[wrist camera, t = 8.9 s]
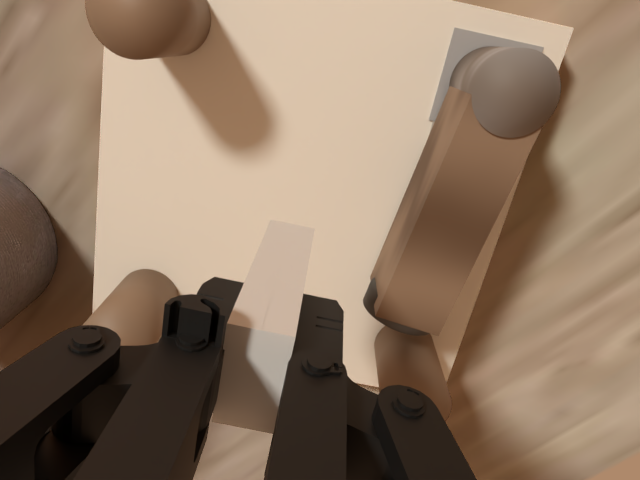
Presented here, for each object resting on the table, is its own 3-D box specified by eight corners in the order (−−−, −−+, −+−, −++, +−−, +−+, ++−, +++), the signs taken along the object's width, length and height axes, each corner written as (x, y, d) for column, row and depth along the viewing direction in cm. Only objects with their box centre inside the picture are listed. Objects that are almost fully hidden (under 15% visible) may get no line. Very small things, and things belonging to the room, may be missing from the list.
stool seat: (551, 28, 24) (637, 24, 17) (433, 372, 32) (460, 466, 25) (132, -65, 23) (44, -110, 16) (110, 310, 31) (42, 390, 24)
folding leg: (463, 34, 22) (490, 33, 18) (539, 62, 22) (582, 67, 18) (361, 282, 26) (365, 324, 23) (425, 303, 27) (440, 348, 23)
